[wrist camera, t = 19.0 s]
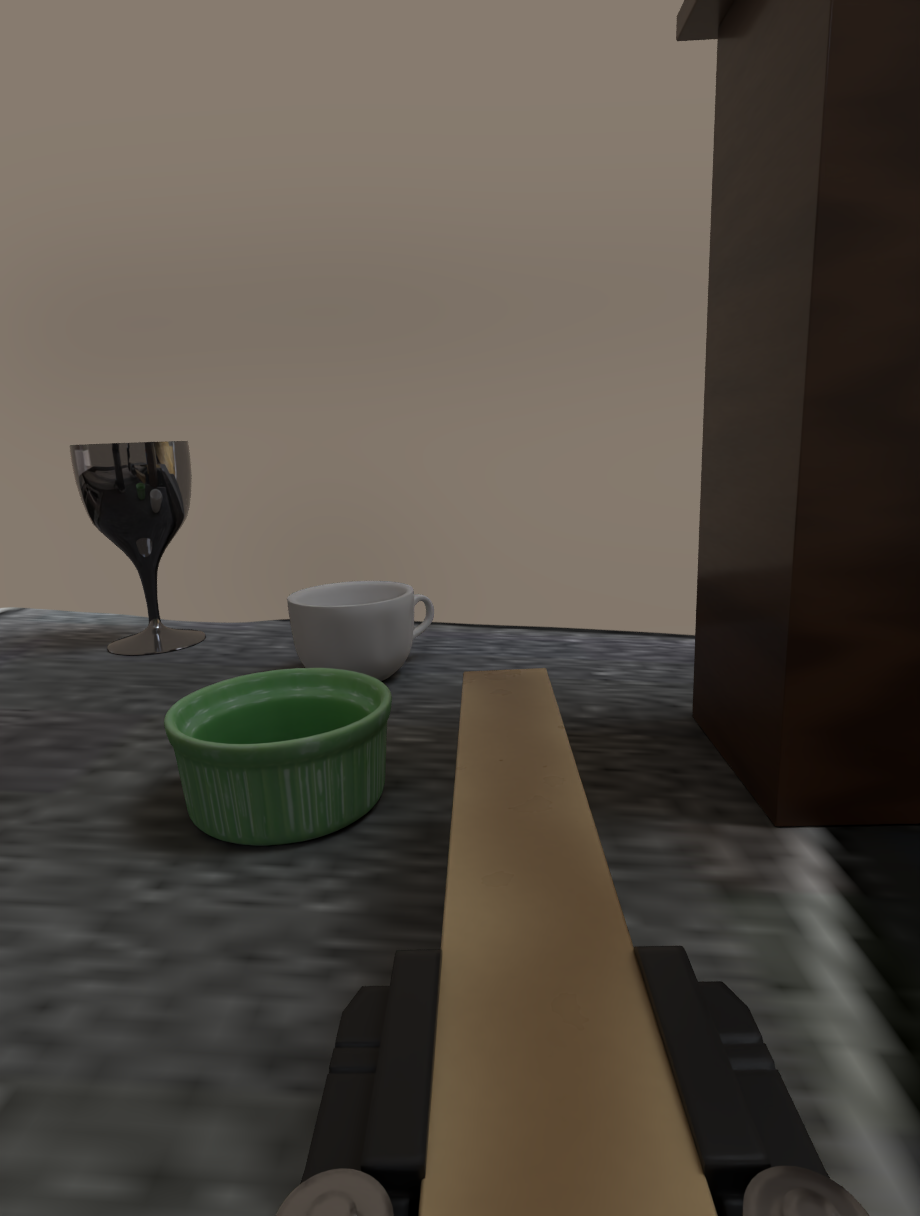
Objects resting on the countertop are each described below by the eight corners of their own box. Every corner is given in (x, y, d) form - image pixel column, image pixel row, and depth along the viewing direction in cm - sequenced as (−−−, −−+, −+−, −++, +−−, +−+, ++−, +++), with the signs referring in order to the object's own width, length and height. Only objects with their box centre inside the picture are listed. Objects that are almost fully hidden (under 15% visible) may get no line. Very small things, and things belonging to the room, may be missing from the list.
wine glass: (158, 625, 62) (134, 443, 58) (232, 632, 59) (211, 440, 55) (76, 651, 55) (43, 446, 51) (156, 660, 52) (126, 442, 48)
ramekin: (354, 869, 26) (345, 752, 25) (128, 848, 28) (111, 739, 27) (421, 759, 34) (416, 669, 33) (244, 749, 36) (235, 664, 35)
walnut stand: (743, 842, 26) (807, -264, 19) (658, 710, 39) (676, 15, 32) (1057, 836, 26) (1244, -295, 19) (868, 705, 39) (935, 0, 31)
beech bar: (425, 1646, 7) (403, 1390, 6) (467, 749, 27) (463, 671, 27) (763, 1647, 6) (773, 1388, 6) (548, 745, 27) (546, 667, 26)
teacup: (330, 706, 41) (323, 613, 40) (274, 675, 47) (266, 593, 46) (469, 668, 47) (466, 586, 46) (403, 644, 53) (399, 571, 52)
